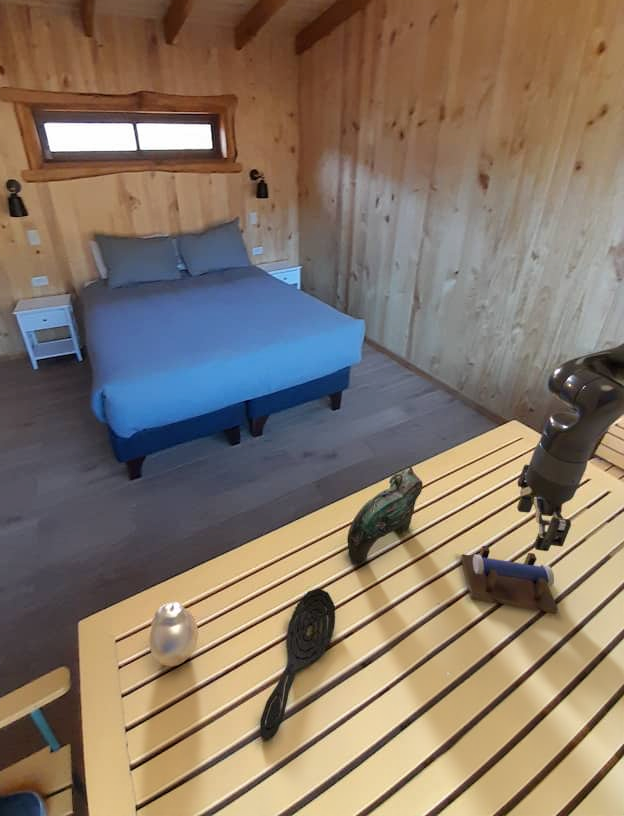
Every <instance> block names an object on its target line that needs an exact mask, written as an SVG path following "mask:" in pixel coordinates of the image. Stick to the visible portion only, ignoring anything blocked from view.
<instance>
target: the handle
mask: <svg viewBox="0 0 624 816" xmlns="http://www.w3.org/2000/svg"><path fill="white" fill-rule="evenodd" d="M472 556H473V567H474V571H475V573H476V574H483V573H489V571H490V570H495V571H496V572H497V575H501V576H507V577H513V578H519V579H525V580H531V581H537V580H538V578H544V579H545V580H546V582H547V584H548V587H552V586H554V583H555V576H554V575H555V574H554V571H553V569H552V568H551V566H549V565H546V564H541V565H540V567H539V565H534V566H533V565H527V564H524V563H521V564H520V562H515V563H514V561H507V560H502V559H496V558H489V557H488V558H483V557H481V555H479V554H476V553H475V554H473V555H472ZM495 559H496V560H495ZM501 560H502V561H501Z"/></svg>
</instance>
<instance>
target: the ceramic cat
mask: <svg viewBox="0 0 624 816" xmlns="http://www.w3.org/2000/svg"><path fill="white" fill-rule="evenodd" d="M388 483H389V484H390V486H389V488H386V489H384V490H382V491H380V492H379V493H377V494H376V495H375V496H373V497H372V498H371V499H369V500H368V501H367V502H366V503H365V504H364V505H362V507H361V508H360V509H359V511H358V512H357V514H355V516H354V518H353V520H352V522H351V524H350V526H349V529H348V531H347V538H346V541H347V550H348V558H349V559H350V560H351V561H352V562H353V563H354V564H355V565H356V566H358V565H360V564H362V563H363V562H365V560H367V558H368V554H369V552H370V550H371V548H372V547H373V545H374V544H375V543H376V542H377V541H378V540H379V539H381V538H383V537H385V536H387V535H388V534H390V533H393V532H395V531H396V532H397V533H398V534H399V535H402V534H403V533H404V532H405V531H407V530H409V529H410V525H411V523H412V519H413V515H414V512H415V506H416V502H417V499H418V498H419V496H420V495H421V494H422V490H423V481H422V479H421V478H420V477H419V476H418V475H417V474H416V473H415V472H414V470H413V467H412V466H409V468H408V469H404V470H401V471H400V472H399V473H396V474H395V473H394V475H392V476H391V477H390V479H389V482H388Z"/></svg>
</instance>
